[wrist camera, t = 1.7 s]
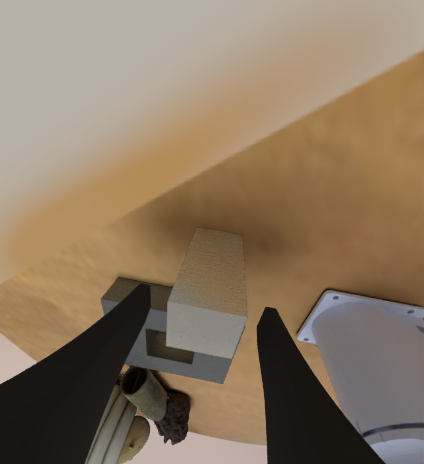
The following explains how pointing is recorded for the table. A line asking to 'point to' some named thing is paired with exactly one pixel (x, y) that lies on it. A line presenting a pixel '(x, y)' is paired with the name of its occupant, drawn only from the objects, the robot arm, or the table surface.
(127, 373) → the tube with rough end
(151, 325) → the grey slab with hole
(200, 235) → the grey wooden block
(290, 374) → the robot arm
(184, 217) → the table surface
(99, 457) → the toy sheep
